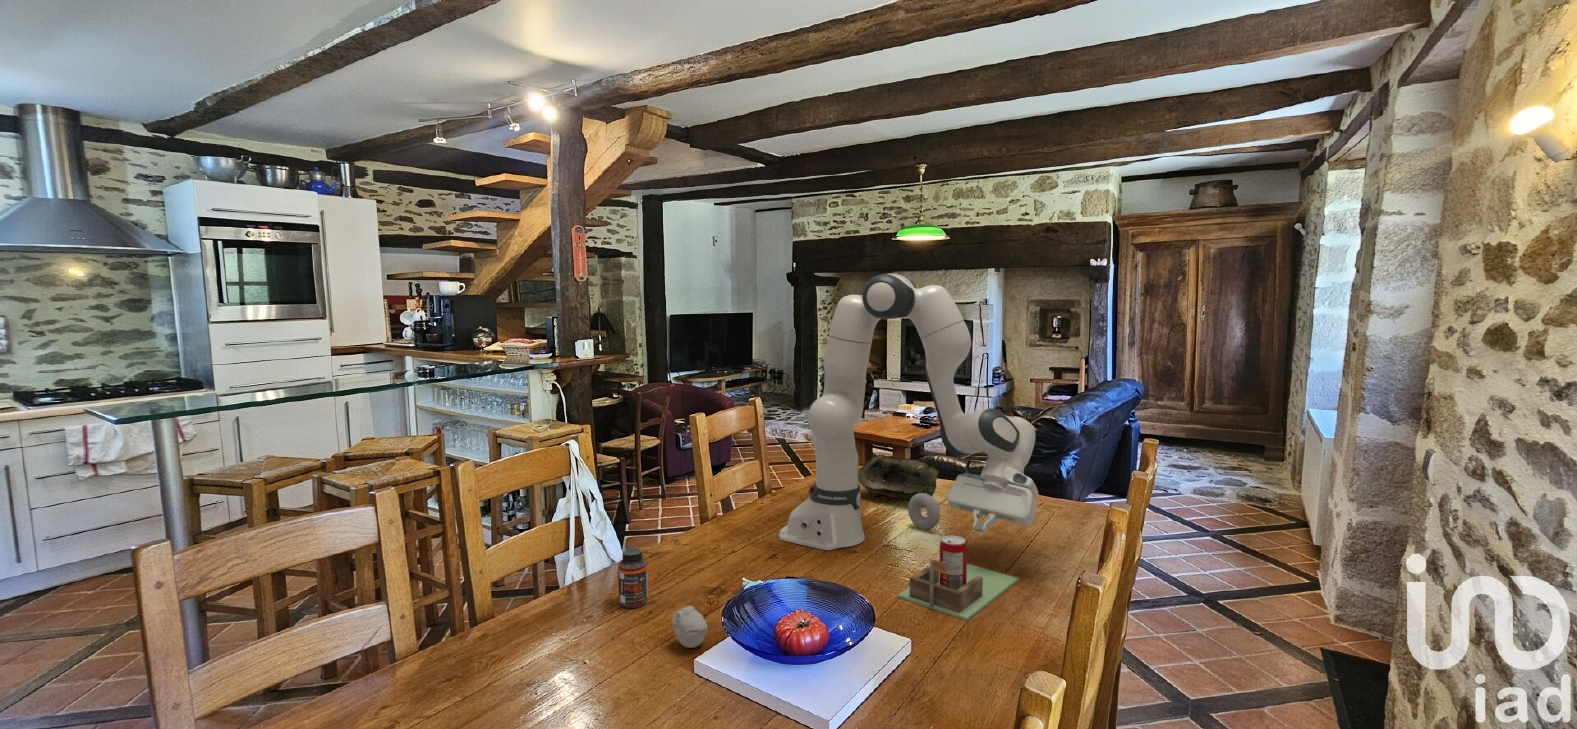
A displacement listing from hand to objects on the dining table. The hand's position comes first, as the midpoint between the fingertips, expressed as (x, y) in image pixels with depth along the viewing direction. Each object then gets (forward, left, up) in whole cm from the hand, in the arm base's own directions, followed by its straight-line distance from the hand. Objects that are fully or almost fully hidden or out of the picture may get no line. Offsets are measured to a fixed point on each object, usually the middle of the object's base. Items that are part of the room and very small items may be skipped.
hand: (979, 530), depth 152 cm
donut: (-17, +25, -10) cm, 32 cm away
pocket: (-5, -16, -10) cm, 19 cm away
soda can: (-4, -13, -10) cm, 17 cm away
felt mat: (-3, -9, -10) cm, 14 cm away
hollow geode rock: (-29, +47, -11) cm, 56 cm away
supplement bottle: (-66, -39, -10) cm, 77 cm away
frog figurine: (-46, -50, -10) cm, 69 cm away
